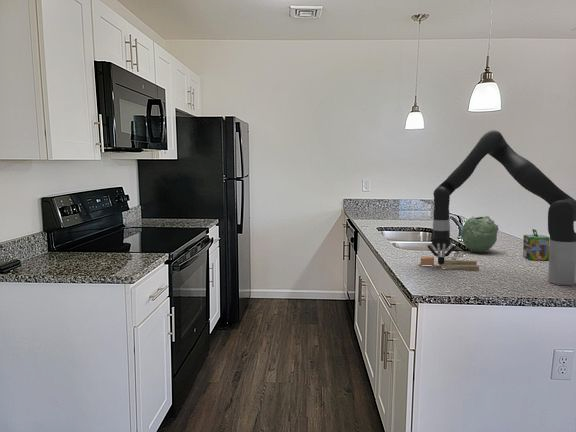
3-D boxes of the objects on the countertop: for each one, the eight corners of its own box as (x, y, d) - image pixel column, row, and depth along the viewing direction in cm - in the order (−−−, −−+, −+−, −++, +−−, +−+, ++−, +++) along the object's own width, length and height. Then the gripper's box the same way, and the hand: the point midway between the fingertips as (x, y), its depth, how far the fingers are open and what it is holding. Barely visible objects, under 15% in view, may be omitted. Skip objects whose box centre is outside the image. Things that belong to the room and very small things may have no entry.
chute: (478, 270, 187) (479, 266, 187) (441, 269, 192) (441, 264, 192) (476, 264, 198) (476, 260, 198) (440, 263, 204) (440, 259, 204)
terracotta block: (433, 267, 197) (433, 259, 197) (420, 266, 199) (420, 258, 199) (433, 264, 203) (433, 256, 202) (421, 263, 205) (421, 256, 204)
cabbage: (463, 248, 237) (463, 213, 235) (499, 251, 227) (500, 214, 224) (457, 253, 224) (457, 217, 222) (495, 256, 214) (496, 218, 211)
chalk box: (549, 260, 201) (550, 230, 200) (528, 260, 203) (529, 230, 202) (542, 256, 210) (543, 228, 209) (522, 256, 212) (523, 228, 210)
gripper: (426, 229, 194) (426, 265, 196) (456, 230, 190) (456, 267, 192) (426, 227, 201) (426, 262, 203) (455, 227, 197) (455, 263, 199)
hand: (441, 264), depth 198 cm, fingers closed
